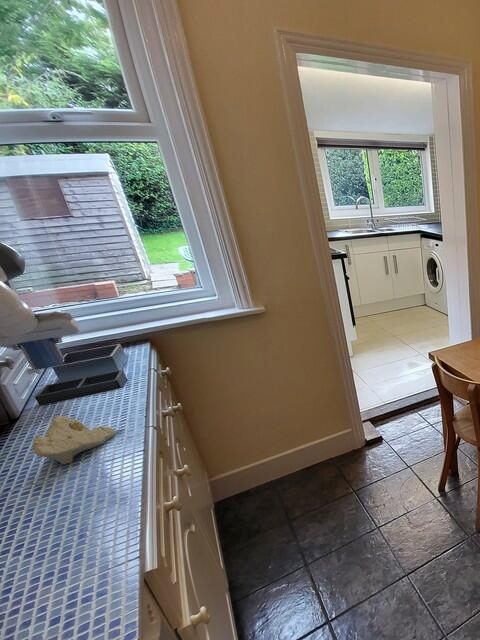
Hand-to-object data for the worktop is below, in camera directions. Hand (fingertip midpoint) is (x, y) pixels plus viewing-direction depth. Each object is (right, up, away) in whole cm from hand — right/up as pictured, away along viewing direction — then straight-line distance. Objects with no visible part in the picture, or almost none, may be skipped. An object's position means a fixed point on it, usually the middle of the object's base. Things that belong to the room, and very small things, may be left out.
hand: (38, 344), depth 116 cm
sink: (-8, -8, +24) cm, 26 cm away
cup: (+1, -6, +2) cm, 6 cm away
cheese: (+37, -27, -23) cm, 51 cm away
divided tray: (+5, -14, +8) cm, 17 cm away
